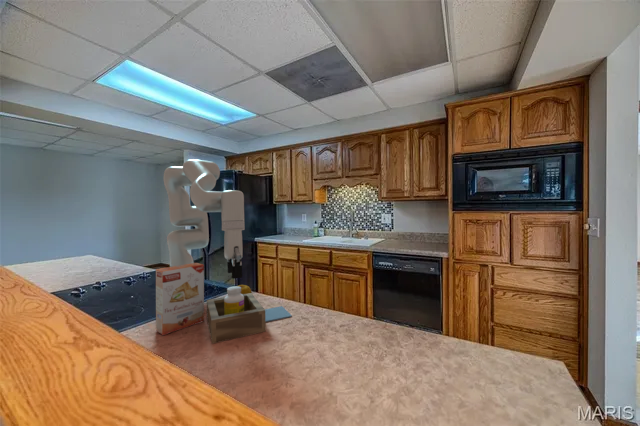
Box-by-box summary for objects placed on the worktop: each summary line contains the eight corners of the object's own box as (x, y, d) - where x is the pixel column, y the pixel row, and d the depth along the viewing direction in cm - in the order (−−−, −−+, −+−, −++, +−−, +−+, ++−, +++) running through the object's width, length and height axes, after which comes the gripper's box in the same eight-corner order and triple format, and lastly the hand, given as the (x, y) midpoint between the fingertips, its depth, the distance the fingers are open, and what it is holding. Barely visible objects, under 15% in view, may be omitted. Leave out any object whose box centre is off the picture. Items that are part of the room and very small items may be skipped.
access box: (206, 318, 96) (206, 299, 96) (251, 310, 103) (251, 293, 103) (211, 343, 78) (211, 320, 78) (265, 331, 85) (265, 310, 85)
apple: (231, 304, 111) (230, 283, 111) (251, 301, 113) (251, 281, 113) (230, 311, 103) (230, 289, 103) (252, 308, 105) (252, 287, 105)
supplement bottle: (240, 329, 87) (240, 291, 87) (221, 329, 87) (220, 291, 87) (246, 320, 94) (246, 285, 94) (228, 320, 94) (228, 285, 94)
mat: (255, 312, 101) (255, 311, 101) (282, 307, 106) (282, 306, 106) (262, 323, 92) (262, 321, 92) (291, 316, 97) (291, 315, 97)
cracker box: (163, 336, 83) (162, 271, 82) (155, 331, 86) (154, 268, 86) (205, 321, 94) (204, 263, 94) (196, 317, 97) (195, 261, 97)
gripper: (219, 225, 96) (220, 271, 96) (225, 227, 81) (226, 282, 81) (239, 224, 100) (240, 269, 99) (249, 226, 84) (251, 278, 84)
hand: (234, 275), depth 90 cm, fingers open, 9 cm apart
